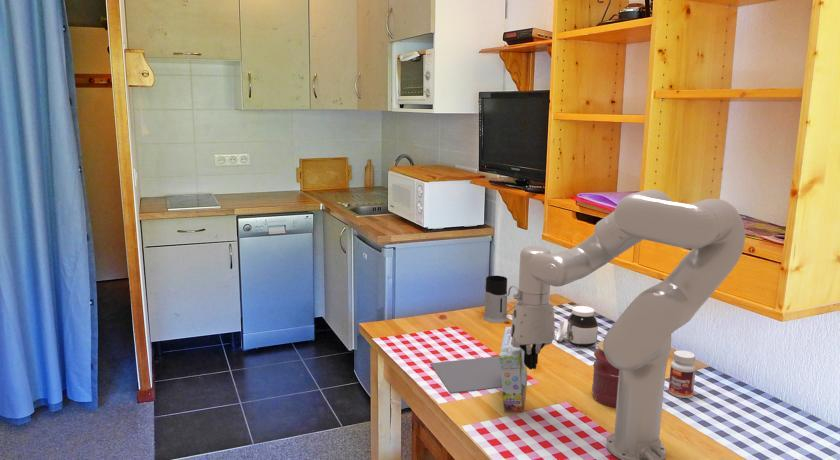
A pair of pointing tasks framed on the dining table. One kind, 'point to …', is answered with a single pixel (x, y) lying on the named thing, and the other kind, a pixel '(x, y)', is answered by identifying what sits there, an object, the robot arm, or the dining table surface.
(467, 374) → the mat
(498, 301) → the grey mug
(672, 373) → the pill bottle
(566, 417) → the dining table surface
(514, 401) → the snack box
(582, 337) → the spread jar
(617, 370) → the canister
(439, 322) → the dining table surface
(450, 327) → the dining table surface
